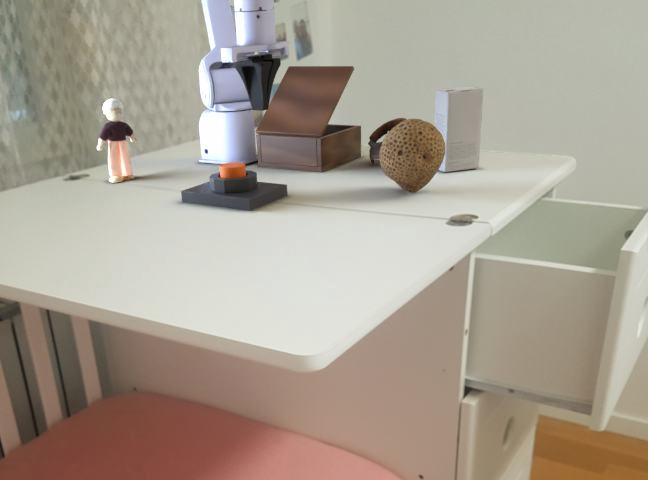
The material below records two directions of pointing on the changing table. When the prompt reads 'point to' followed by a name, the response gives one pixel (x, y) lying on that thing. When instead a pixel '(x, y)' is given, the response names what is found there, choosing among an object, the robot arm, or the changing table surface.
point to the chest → (310, 149)
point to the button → (232, 170)
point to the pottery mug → (378, 134)
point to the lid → (305, 100)
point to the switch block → (235, 192)
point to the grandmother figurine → (116, 142)
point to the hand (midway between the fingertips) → (260, 109)
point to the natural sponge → (412, 153)
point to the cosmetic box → (459, 126)
